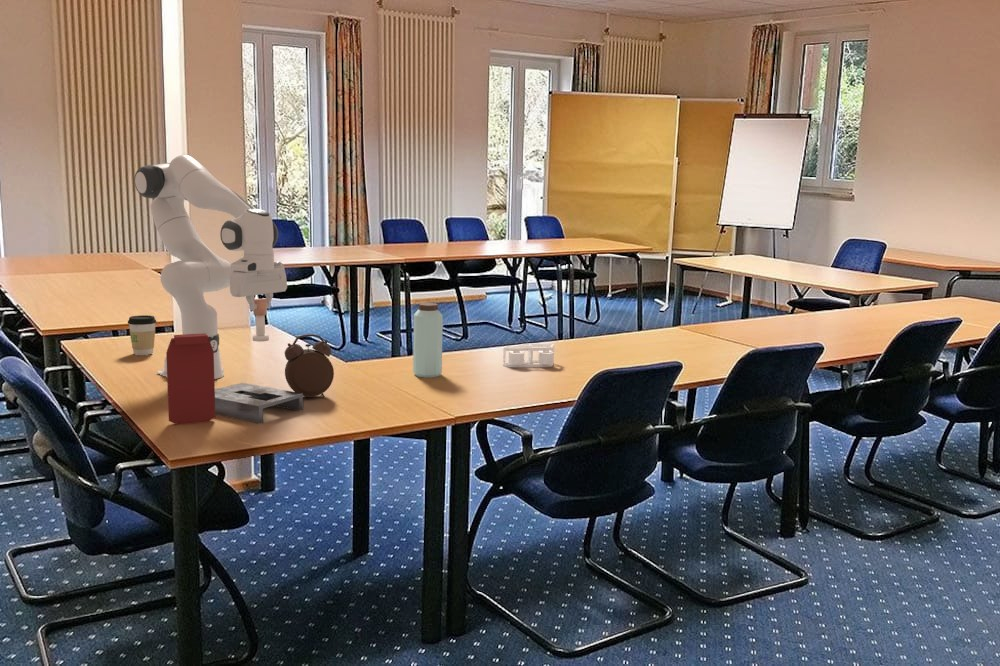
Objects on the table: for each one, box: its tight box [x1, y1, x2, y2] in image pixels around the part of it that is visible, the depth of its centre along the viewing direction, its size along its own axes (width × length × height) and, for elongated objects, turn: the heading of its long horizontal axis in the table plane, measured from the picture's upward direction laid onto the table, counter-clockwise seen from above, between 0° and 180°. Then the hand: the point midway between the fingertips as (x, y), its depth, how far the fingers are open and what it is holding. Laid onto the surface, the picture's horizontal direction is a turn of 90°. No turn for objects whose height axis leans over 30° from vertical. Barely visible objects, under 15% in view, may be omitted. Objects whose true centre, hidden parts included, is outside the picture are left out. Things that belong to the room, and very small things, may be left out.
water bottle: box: [412, 302, 444, 379], centre depth 319 cm, size 10×10×25 cm
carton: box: [165, 333, 216, 425], centre depth 251 cm, size 12×5×25 cm, turn 117°
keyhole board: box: [215, 382, 304, 425], centre depth 269 cm, size 18×24×5 cm
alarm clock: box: [284, 333, 335, 398], centre depth 284 cm, size 14×7×20 cm, turn 115°
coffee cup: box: [127, 314, 157, 356], centre depth 337 cm, size 10×10×15 cm
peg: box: [252, 298, 270, 343], centre depth 282 cm, size 5×5×12 cm
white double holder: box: [502, 343, 555, 368], centre depth 342 cm, size 20×11×7 cm, turn 101°
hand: (259, 308), depth 282 cm, fingers closed on peg, 4 cm apart
